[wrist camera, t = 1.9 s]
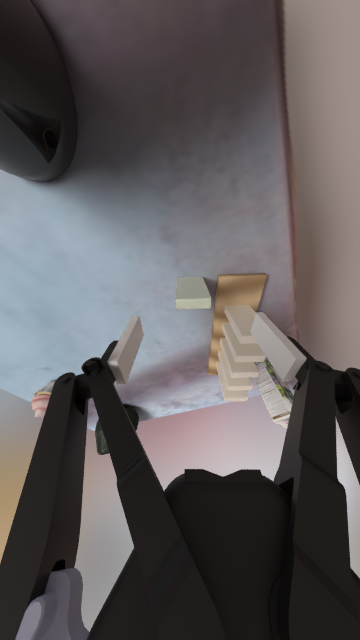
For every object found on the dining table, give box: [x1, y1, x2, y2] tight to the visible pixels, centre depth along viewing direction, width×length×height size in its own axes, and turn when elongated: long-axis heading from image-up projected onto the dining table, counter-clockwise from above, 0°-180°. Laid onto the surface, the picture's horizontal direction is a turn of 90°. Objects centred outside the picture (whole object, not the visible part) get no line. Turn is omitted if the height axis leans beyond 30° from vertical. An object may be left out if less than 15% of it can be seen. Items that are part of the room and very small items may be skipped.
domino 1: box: [175, 277, 211, 309], centre depth 24 cm, size 2×5×10 cm, turn 92°
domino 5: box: [218, 351, 253, 391], centre depth 34 cm, size 2×5×10 cm, turn 92°
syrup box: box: [253, 360, 294, 429], centre depth 37 cm, size 6×6×14 cm
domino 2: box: [224, 305, 257, 344], centre depth 26 cm, size 2×5×10 cm, turn 92°
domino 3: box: [222, 323, 266, 362], centre depth 29 cm, size 2×5×10 cm, turn 93°
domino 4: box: [220, 338, 259, 378], centre depth 31 cm, size 2×5×10 cm, turn 93°
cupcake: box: [32, 380, 56, 417], centre depth 45 cm, size 9×9×10 cm
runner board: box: [208, 273, 267, 375], centre depth 35 cm, size 30×9×1 cm, turn 2°
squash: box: [95, 407, 139, 455], centre depth 53 cm, size 14×15×15 cm
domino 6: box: [216, 362, 248, 401], centre depth 36 cm, size 2×5×10 cm, turn 92°
